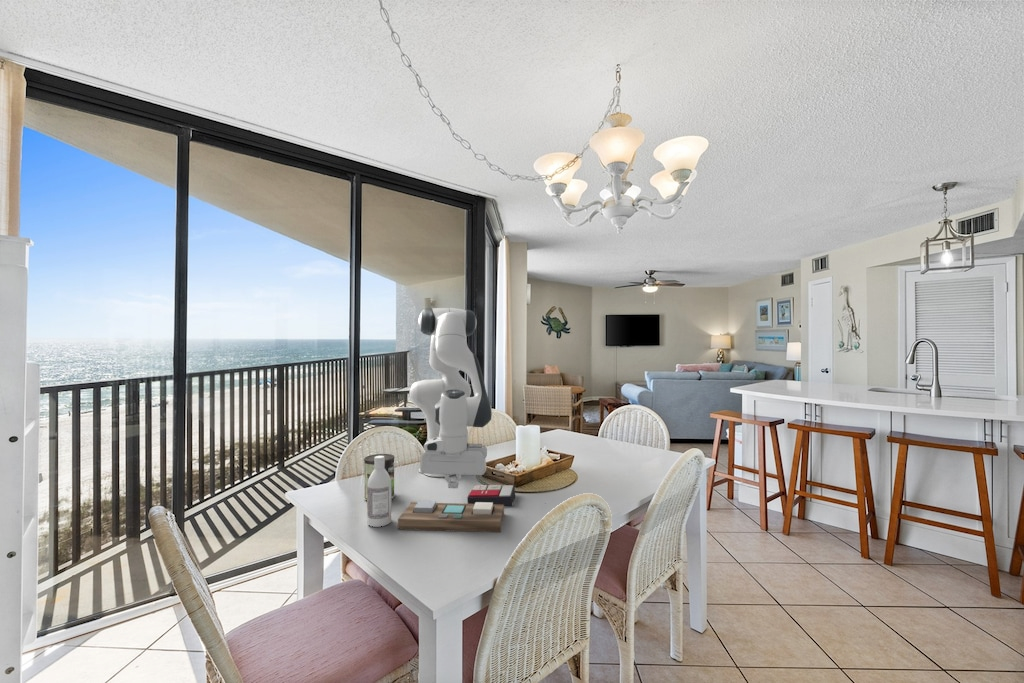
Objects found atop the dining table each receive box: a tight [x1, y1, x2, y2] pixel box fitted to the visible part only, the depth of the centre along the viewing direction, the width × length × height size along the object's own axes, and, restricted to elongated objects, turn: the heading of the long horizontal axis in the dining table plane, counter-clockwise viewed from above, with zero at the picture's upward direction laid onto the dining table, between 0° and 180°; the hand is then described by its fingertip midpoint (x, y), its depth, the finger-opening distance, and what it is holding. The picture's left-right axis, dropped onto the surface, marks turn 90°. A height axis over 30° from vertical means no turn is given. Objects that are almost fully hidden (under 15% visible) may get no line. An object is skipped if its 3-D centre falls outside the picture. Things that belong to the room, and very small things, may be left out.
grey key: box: [414, 500, 437, 513], centre depth 134 cm, size 6×6×2 cm
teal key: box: [443, 505, 465, 514], centre depth 133 cm, size 6×6×2 cm
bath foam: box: [366, 456, 392, 528], centre depth 131 cm, size 7×7×20 cm
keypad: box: [397, 501, 505, 533], centre depth 132 cm, size 13×30×3 cm, turn 86°
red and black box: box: [466, 484, 516, 508], centre depth 150 cm, size 11×4×15 cm
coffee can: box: [363, 453, 395, 501], centre depth 152 cm, size 10×10×14 cm
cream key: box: [473, 502, 493, 515], centre depth 133 cm, size 6×6×2 cm
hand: (453, 487), depth 134 cm, fingers closed
